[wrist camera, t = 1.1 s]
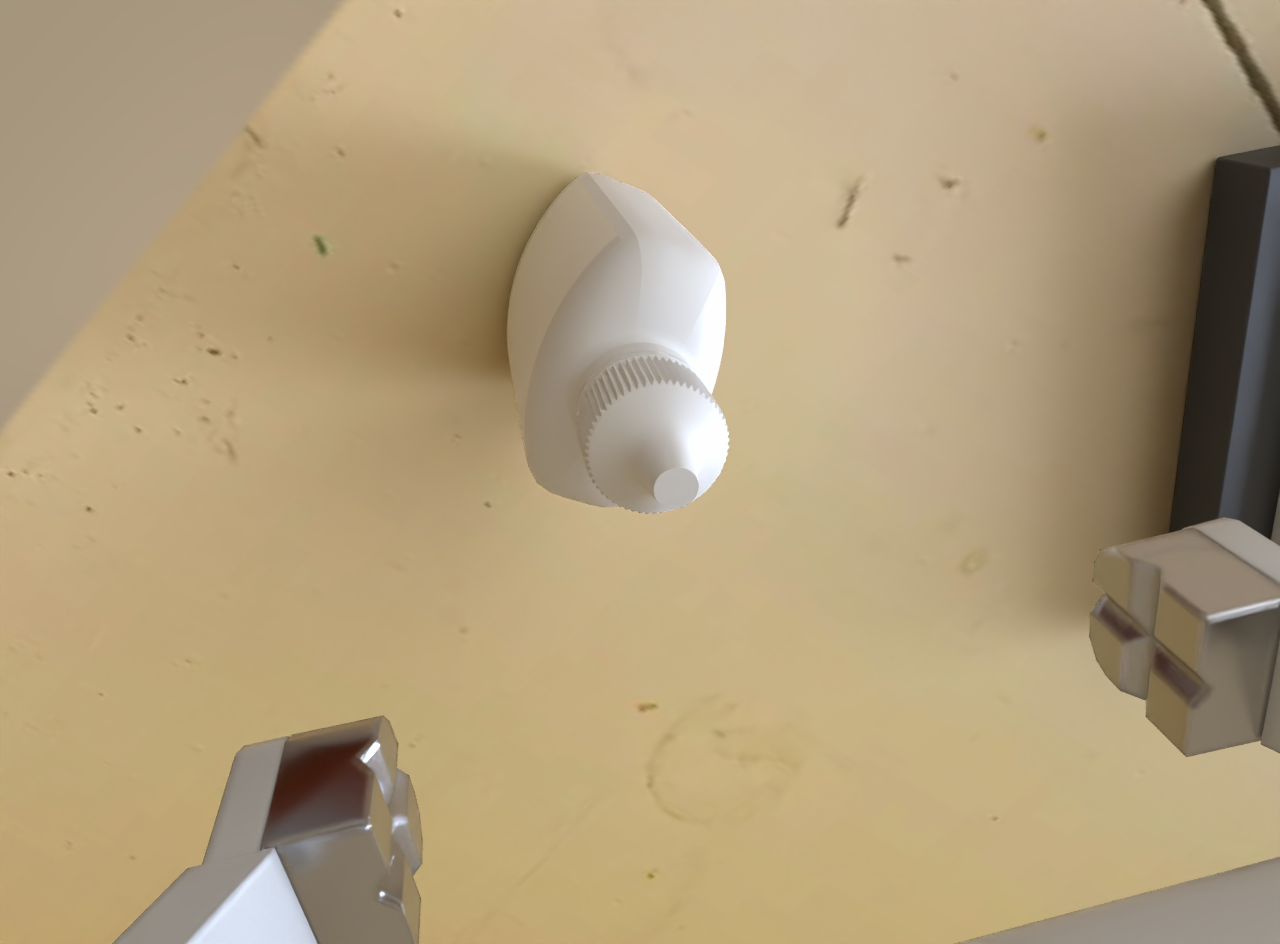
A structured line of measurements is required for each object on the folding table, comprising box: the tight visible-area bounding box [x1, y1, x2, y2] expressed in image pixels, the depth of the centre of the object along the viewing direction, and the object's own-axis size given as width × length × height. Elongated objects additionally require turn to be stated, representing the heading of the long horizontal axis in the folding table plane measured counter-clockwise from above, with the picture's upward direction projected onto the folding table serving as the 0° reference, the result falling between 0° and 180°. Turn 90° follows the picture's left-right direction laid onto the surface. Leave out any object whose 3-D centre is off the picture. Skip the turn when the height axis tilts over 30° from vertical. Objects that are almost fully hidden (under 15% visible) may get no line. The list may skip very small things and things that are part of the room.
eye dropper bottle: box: [507, 172, 729, 514], centre depth 20 cm, size 4×6×12 cm
